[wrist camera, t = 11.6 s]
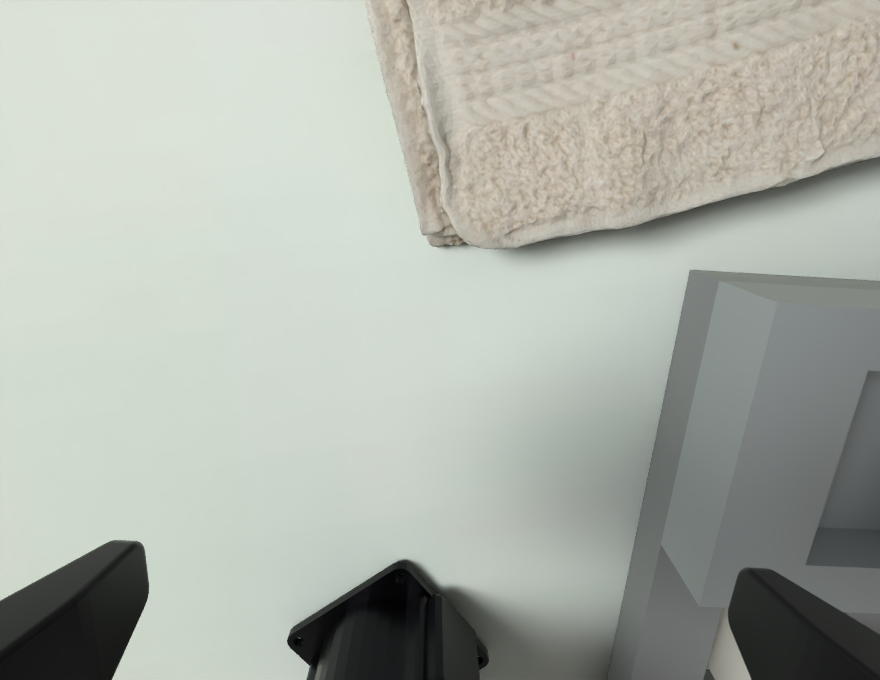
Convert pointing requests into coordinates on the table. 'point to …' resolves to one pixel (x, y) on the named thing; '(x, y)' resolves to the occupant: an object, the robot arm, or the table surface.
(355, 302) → the table surface
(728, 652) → the plug
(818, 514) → the socket panel
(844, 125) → the washcloth
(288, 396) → the table surface
